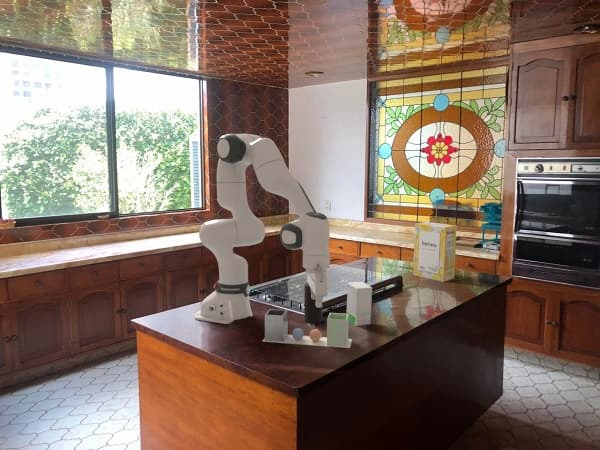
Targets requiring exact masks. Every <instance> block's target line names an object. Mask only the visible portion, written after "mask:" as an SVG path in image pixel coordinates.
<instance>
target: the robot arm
mask: <svg viewBox="0 0 600 450" xmlns="http://www.w3.org/2000/svg"><path fill="white" fill-rule="evenodd" d="M216 154H217V156H218V158H219V159H218V162H217V169H216V195H217V196H216V197H217V198H216V199H217V203H218V205H219V206H220V207H221V208H223V209H225V210H228V211H229V212H231V215H232V218H221V219H217V218H216V219H212V220H208V221H205V222H203V223H202V225H201V226H200V228H199V230H198V231H199V232H198V236H199V240H200V242H201V244H202V245H203V247H205V248H207V249H209V251H210V252H212V253H213V255H214V256H215V259H216V260H217V264H218V265H217V266H218V272H219V273H218V274H219V277H218V280H217V281H216V282H215V284H214V285H213V288H214V289H215V290H214V291H213V292H212V293H210V294H209V295H208V296H206V297H205V298H204V299H203V300H202V302H201V304H200V309H199V310H198V311H197V312H196V313H195V314H194V319H195V320H198V321H204V322H210V323H211V322H212V323H218V324H224V325H230V324H232V323H233V322H234V321H236V320H242V319H246V318H248V317H253V312H252V309H251V304H250V303H251V302H250V281H249V272H248V271H249V264H248V261H247V260H246V259H245V258H244V257H243V256H240V255H238V254H236V253H234V248H235V247H236V248H237V247H238V248H239V247H247V246H248V247H249V246H253V245H257V244H260V243H262V242H263V240H264V239H265V236H266V227H265V224H264V223H263V221H262V220H261V219H259V218H258V217H257V216H256V215H255V214H254V213H253V212H252V210H251V208H250V206H249V203H248V195H247V182H246V181H247V180H246V178H247V177H246V170H247V168H248V167H249V166H251V167H252V168H253V170H254V174H255V176H256V179H257V181H258V183H259V184H260V186H261V188H262V189H264V190H265V191H266V192H268V193H271V194H274V195H277V196H279V197H282V198H285V200H288V201H289V202H290V203H291V204H292V205H293V207H294V210H295V212H296V213H297V216H298V217H299V218H297V219H295V220H292V221H289V222H286V223H284V224H283V225H282V227H281V228H280V232H279V238H280V242H281V244H282V245H283V247H285V249H287V250H292V251H293V250H294V251H295V250H302V267H303V268H304V269H305V278H306V283H307V282H308V284H309V286H310V288H311V298H312V299H313V300H314V299H316V307H317V308H320V307H322V308H323V300H324V299H323V298H324V297H327V295H328V285H327V284H328V282H327V279H328V278H327V273H326V272H327V269H329V268H330V267H331V266H330V265H331V264H330V263H331V260H330V259H331V252H330V247H329V245H330V235H331V234H330V233H331V231H330V222H329V218H328V216H327V215H325V214H324V213H322V212H317V211H316V209H315V208H314V205H313V204H312V202H311V201H310V199H309V196H308V195H307V193H306V191H305V190H304V188H303V186H302V184H301V183H300V182H299V181H298V179H296V178H295V177H294V176H293V175H292V172H291V171H290V170H289V168H288V167H287V165H286V162H285V159H284V158H283V156H282V154H281V151H280V150H279V148H278V146H277V145H276V142H274V140H272V139H271V138H269V137H266V136H263V135H260V134H257V135H256V134H250V133H226V134H224V135H221V136H220V137H219V139H218V140H217V143H216Z"/></svg>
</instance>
